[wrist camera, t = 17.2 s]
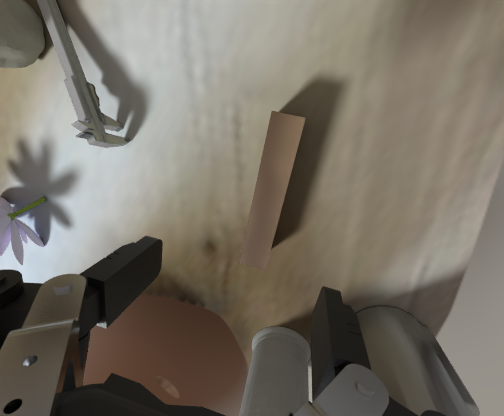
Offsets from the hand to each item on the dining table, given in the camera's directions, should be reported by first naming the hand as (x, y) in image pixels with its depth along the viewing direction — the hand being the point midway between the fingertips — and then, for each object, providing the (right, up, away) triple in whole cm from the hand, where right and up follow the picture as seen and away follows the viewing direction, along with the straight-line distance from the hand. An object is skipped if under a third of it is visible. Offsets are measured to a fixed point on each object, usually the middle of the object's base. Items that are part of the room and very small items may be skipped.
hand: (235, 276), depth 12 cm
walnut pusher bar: (+3, +6, +17) cm, 18 cm away
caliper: (-18, +21, +16) cm, 32 cm away
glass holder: (+7, -20, +25) cm, 33 cm away
